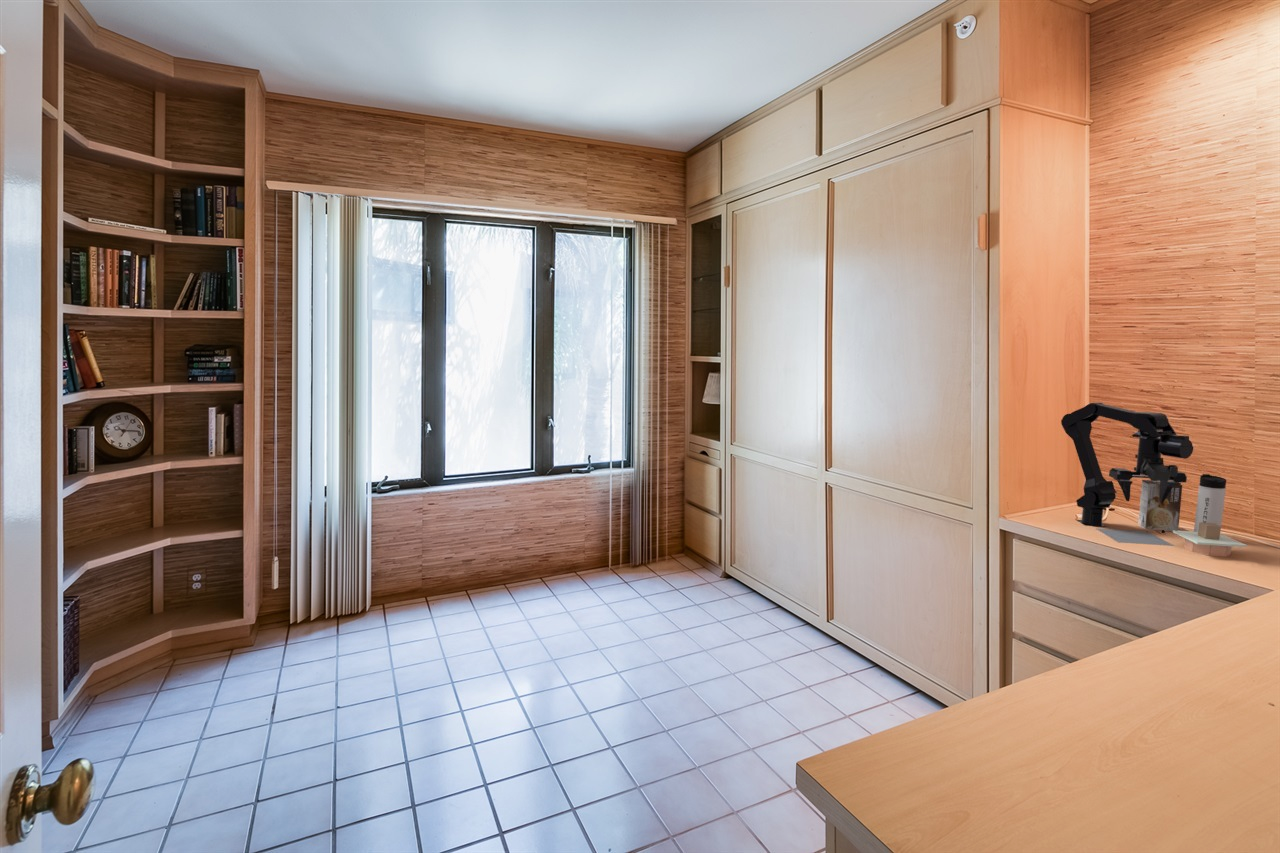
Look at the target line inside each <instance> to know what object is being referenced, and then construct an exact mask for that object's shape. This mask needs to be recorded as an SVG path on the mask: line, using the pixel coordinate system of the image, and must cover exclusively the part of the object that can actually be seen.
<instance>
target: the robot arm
mask: <svg viewBox="0 0 1280 853" xmlns="http://www.w3.org/2000/svg"><path fill="white" fill-rule="evenodd" d="M1100 417H1102V418H1106V419H1109V420H1114V421H1118V422H1122V423H1126V424H1128V425H1131V427H1132V428H1134V429H1136V430H1137V431H1136V432H1135V433H1133V434H1131V437H1132V438H1138V447H1137V448H1138V450H1137V454H1135V456H1134V458H1136V467H1135V466H1134V467H1133V471H1131V470H1130V469H1126V468H1124V467H1123V468H1122V467H1119V468H1117V467H1112V468H1111V469H1109V472H1108V476H1109V477H1110V478H1113V480H1115V481H1116V482H1118V485H1119V486H1120V489H1121V491H1122V494H1123V497H1124V499H1125V501H1126V502H1130V498H1131V486H1132V484H1133V481H1132V480H1131V479H1133V478H1138V479H1140V478H1141V479H1143V478H1144V479H1148V480H1153V481H1160V492H1159V501H1160V503H1163V502H1164V500H1165V499H1166V497H1167V495H1168V494H1169V492H1170V491H1171V489H1172V488H1173V487H1175V486H1176V485H1180V484H1181V485H1182V483H1187V481H1188V479H1187V478H1188V476H1187V474H1186V473H1185V472H1182V471H1180V470H1179V467H1178V466H1177V465H1175V464H1169V465H1166V464H1164V458H1163V457H1162V456H1165V457H1173V458H1178V459H1185V460H1187V459H1188V458H1190V457H1191V456H1192V454H1193V452H1194V446H1193V442H1192V441H1191V440H1190V436H1189V435H1186V434H1185V435H1179V434H1177V433H1176V431H1175V430H1174V427H1173V426H1172V425H1171V424H1170V422H1169V418H1168V417H1167V415H1166V414H1165V413H1162V412H1152V411H1151V412H1149V411H1148V412H1147V411H1136V410H1130V409H1127V408H1122V407H1119V406H1118V407H1117V406H1113V405H1109V404H1105V403H1103V402H1090V403H1087V405H1085V406H1082V407H1080V408H1079V409H1076V410H1074V411H1072V412H1070V413H1066V414H1064V416H1062V419H1061V420H1060V424H1061V426H1062V429H1063V430H1064V432H1065V434H1066V435H1068V437H1069V438H1071V439H1072V442H1073V445H1074V448H1075V450H1076V454H1077V457H1078V460H1079V463H1080V466H1081V470H1082V472H1083V475H1084V480H1085V481H1084V485H1083V495H1082V496H1081V497H1079V498H1077V499H1076V502H1075V503H1076V506H1077V507H1078V508H1082V510H1081V511H1082V512H1081V519H1080V520H1079V519H1077V520H1076V521H1077V522H1079V523H1080V524H1082V525H1083V526H1085V527H1091V526H1092V527H1104V528H1105V527H1106V528H1107V525H1105V524H1104V523H1103V516H1104V509H1105V508H1106V509H1109V508H1110V507H1111V505H1112V503H1113V502H1114V501H1115V500H1116V497H1117V495H1116V494H1117V493H1118V492H1117V490H1116V489H1115V486H1114V482H1113V481H1112V480H1106V479H1105V478H1104V476H1103V473H1102V470H1101V468H1100V467H1101V466H1100V464H1099V461H1098V458H1097V454H1096V451H1095V448H1094V446H1093V442H1092V440H1091V432H1092V429H1093V426H1092V423H1094V422H1095V421H1097V420H1098V418H1100Z"/></svg>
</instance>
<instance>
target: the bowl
mask: <svg viewBox="0 0 1280 853" xmlns="http://www.w3.org/2000/svg"><path fill="white" fill-rule="evenodd" d="M1184 549H1186V550H1188V551H1189V552H1191V553H1196V554H1200V555H1205V556H1209V557H1210V556H1211V557H1225V558H1226V557H1228V556H1230V555H1231V553H1232V552H1231V551H1232V546H1219V545H1202V544H1196V543H1194V542H1192V541H1190V540H1188V539H1185V538H1184Z"/></svg>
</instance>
